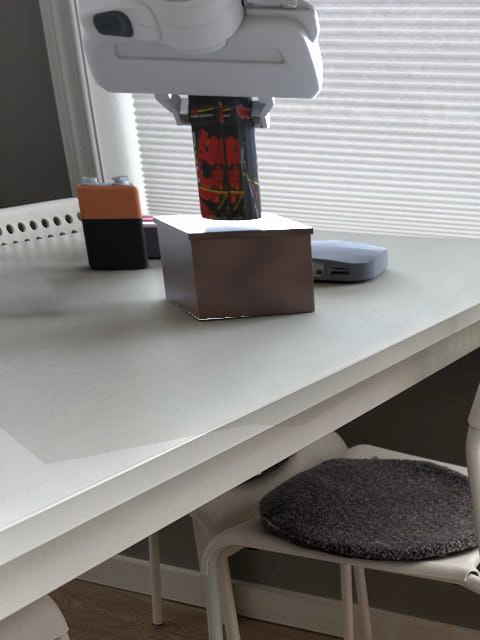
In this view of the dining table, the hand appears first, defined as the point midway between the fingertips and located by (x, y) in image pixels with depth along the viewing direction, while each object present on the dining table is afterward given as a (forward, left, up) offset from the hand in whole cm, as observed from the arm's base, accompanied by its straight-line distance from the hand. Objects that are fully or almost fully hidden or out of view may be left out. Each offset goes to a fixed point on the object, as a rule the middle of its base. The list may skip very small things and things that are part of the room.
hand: (223, 121), depth 91 cm
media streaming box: (+16, +14, -17) cm, 27 cm away
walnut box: (0, -1, -17) cm, 17 cm away
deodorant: (0, -1, -9) cm, 9 cm away
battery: (-6, +26, -17) cm, 32 cm away
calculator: (+4, +37, -17) cm, 41 cm away
